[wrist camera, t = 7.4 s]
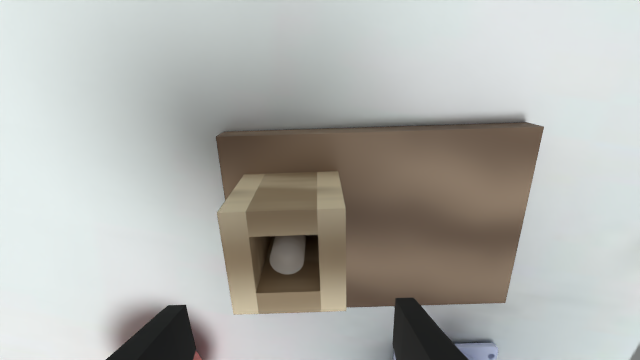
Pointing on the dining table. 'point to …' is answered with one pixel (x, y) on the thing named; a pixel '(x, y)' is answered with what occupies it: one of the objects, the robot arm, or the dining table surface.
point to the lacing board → (407, 203)
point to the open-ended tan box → (285, 220)
